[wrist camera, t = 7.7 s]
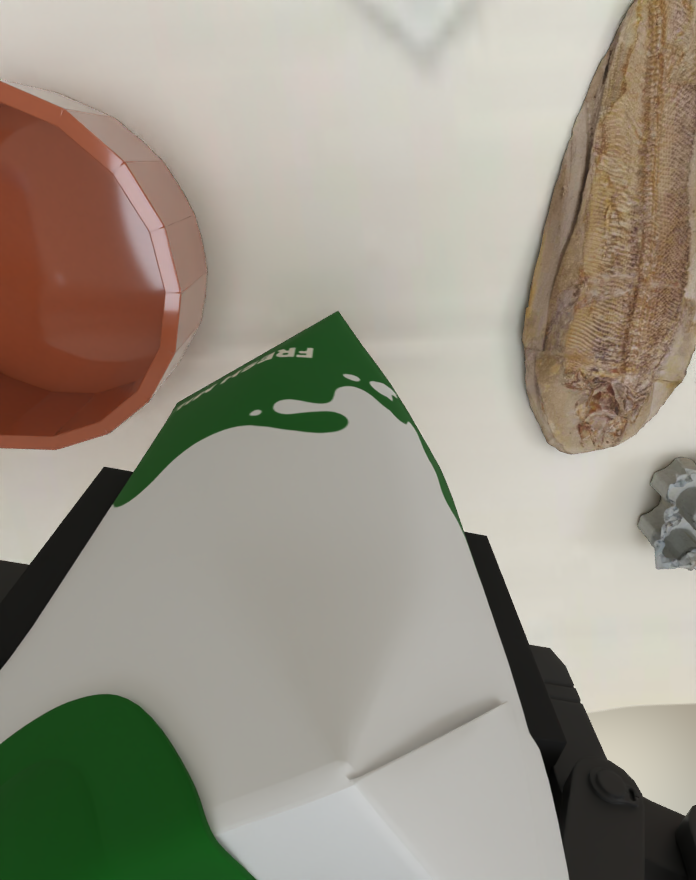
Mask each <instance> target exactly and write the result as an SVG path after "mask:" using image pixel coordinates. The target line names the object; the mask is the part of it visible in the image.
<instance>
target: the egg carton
mask: <svg viewBox="0 0 696 880" xmlns="http://www.w3.org/2000/svg"><path fill="white" fill-rule="evenodd" d="M650 485H651V486H652V487H653V488H654V489H655V490H656V491H657V492H658V493H659V494H660V495H661V501H660V503H659V505H658V506H657V507H655V508H654V509H653V510H652V511H651V512H649V513H648V514H644V515H642V516H641V517H640V520H639V523H638V528H639V529H640V530H641V531H642V532H643V534H644V535H645V536H646V537H647V539H648V540H649V542H650V543H651V545H652V546H653V547H654V549H655V564H656V569H675V568H686V569H688V570H690V571H692V570H693V569H696V464H695V463H694V462H693V461H692V460H691V459H689V458H688V459H687V458H683V457H679V458H676V459H675V460H674V461H673V462H672V463H671V464H670V466H668V467H666V468H665V469H663V470H659V471H658V472H656V473H654V476H653V479H652V482H651V483H650Z"/></svg>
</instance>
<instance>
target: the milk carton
mask: <svg viewBox="0 0 696 880" xmlns="http://www.w3.org/2000/svg"><path fill="white" fill-rule="evenodd" d="M0 880H569V875H568V869H567V864H566V859H565V854H564V849H563V844H562V839H561V834H560V829H559V824H558V819H557V815H556V810H555V806H554V802H553V797H552V793H551V789H550V784H549V780H548V777H547V773H546V770H545V766H544V763H543V759H542V756H541V752H540V749H539V748H538V746H537V744H536V743H535V741H534V740H533V738H532V737H531V735H530V733H529V731H528V727H527V724H526V720H525V716H524V713H523V709H522V706H521V703H520V700H519V696H518V693H517V690H516V686H515V683H514V680H513V677H512V673H511V670H510V667H509V663H508V660H507V657H506V654H505V651H504V649H503V646H502V643H501V640H500V637H499V634H498V631H497V628H496V625H495V622H494V619H493V616H492V613H491V610H490V607H489V604H488V601H487V598H486V595H485V592H484V589H483V587H482V584H481V581H480V578H479V575H478V572H477V569H476V566H475V563H474V560H473V557H472V554H471V551H470V548H469V545H468V542H467V539H466V536H465V533H464V531H463V528H462V525H461V522H460V519H459V516H458V513H457V510H456V507H455V504H454V501H453V498H452V496H451V493H450V490H449V488H448V485H447V483H446V480H445V478H444V476H443V473H442V471H441V469H440V467H439V465H438V463H437V461H436V460H435V458H434V456H433V454H432V453H431V451H430V449H429V447H428V445H427V444H426V442H425V440H424V439H423V437H422V435H421V433H420V432H419V430H418V428H417V426H416V425H415V423H414V421H413V419H412V418H411V416H410V414H409V412H408V411H407V409H406V408H405V406H404V405H403V403H402V401H401V400H400V398H399V397H398V395H397V393H396V392H395V390H394V389H393V387H392V385H391V384H390V382H389V381H388V380H387V378H386V377H385V375H384V374H383V373H382V371H381V370H380V368H379V367H378V366H377V364H376V363H375V362H374V360H373V359H372V358H371V356H370V355H369V354H368V352H367V351H366V350H365V348H364V347H363V346H362V344H361V343H360V341H359V340H358V339H357V337H356V336H355V334H354V333H353V331H352V330H351V329H350V327H349V326H348V324H347V323H346V321H345V320H344V319H343V317H342V316H341V314H340V313H339V311H337V312H335V313H333V314H332V315H330V316H328V317H326V318H325V319H323V320H321V321H319V322H318V323H316V324H314V325H312V326H311V327H309V328H307V329H305V330H304V331H302V332H300V333H298V334H297V335H295V336H293V337H291V338H290V339H288V340H286V341H284V342H283V343H281V344H279V345H277V346H276V347H274V348H272V349H270V350H269V351H267V352H265V353H264V354H262V355H260V356H258V357H257V358H255V359H253V360H251V361H250V362H248V363H246V364H244V365H243V366H241V367H239V368H237V369H236V370H234V371H232V372H230V373H229V374H227V375H225V376H223V377H222V378H220V379H218V380H216V381H215V382H213V383H211V384H209V385H208V386H206V387H204V388H202V389H201V390H199V391H197V392H195V393H194V394H192V395H190V396H189V397H187V398H185V399H183V400H182V401H180V402H178V403H177V404H176V406H175V408H174V409H173V411H172V413H171V414H170V416H169V418H168V419H167V421H166V423H165V424H164V426H163V428H162V429H161V431H160V432H159V434H158V435H157V437H156V438H155V440H154V441H153V443H152V445H151V446H150V448H149V449H148V451H147V452H146V454H145V455H144V457H143V458H142V460H141V461H140V463H139V464H138V466H137V468H136V469H135V471H134V472H133V474H132V475H131V477H130V478H129V480H128V481H127V483H126V484H125V486H124V487H123V489H122V491H121V492H120V494H119V495H118V497H117V498H116V500H115V501H114V503H113V504H112V506H111V507H110V509H109V510H108V512H107V514H106V515H105V517H104V518H103V520H102V521H101V523H100V524H99V526H98V527H97V529H96V530H95V532H94V533H93V535H92V537H91V538H90V540H89V541H88V543H87V544H86V546H85V547H84V549H83V550H82V552H81V553H80V555H79V556H78V558H77V560H76V561H75V563H74V564H73V566H72V567H71V569H70V570H69V572H68V573H67V575H66V576H65V578H64V579H63V581H62V583H61V584H60V586H59V587H58V589H57V590H56V592H55V593H54V595H53V596H52V598H51V599H50V601H49V602H48V604H47V605H46V607H45V608H44V610H43V611H42V613H41V614H40V616H39V618H38V619H37V621H36V622H35V624H34V625H33V627H32V628H31V629H30V631H29V632H28V634H27V635H26V636H25V638H24V639H23V641H22V642H21V643H20V645H19V646H18V648H17V649H16V650H15V652H14V653H13V655H12V656H11V657H10V659H9V660H8V661H7V662H6V664H5V665H4V666H3V667H2V669H1V670H0Z"/></svg>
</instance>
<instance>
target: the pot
mask: <svg viewBox="0 0 696 880" xmlns="http://www.w3.org/2000/svg"><path fill="white" fill-rule="evenodd" d="M206 281H207V265H206V260H205V252H204V248H203V243H202V238H201V234H200V231H199V228H198V225H197V221H196V217H195V214H194V212H193V210H192V209H191V207H190V205H189V203H188V201H187V199H186V196H185V194H184V193H183V191H182V190H181V188H180V186H179V185H178V183H177V182H176V180H175V178H174V177H173V175H172V174H171V173H170V171H169V170H168V168H167V166H166V165H165V163H164V162H163V161H162V160H161V159H160V158H159V157H158V156H157V155H156V154H155V153H154V152H153V151H152V150H151V149H150V148H149V147H148V146H147V145H146V144H145V143H144V142H143V141H142V140H141V139H140V138H138V137H137V136H136V135H135V134H133V133H132V132H131V131H130V130H128V129H127V128H126V127H125V126H124V125H122V124H121V123H120V122H119V121H118V120H117V119H115V118H114V117H112V116H110V115H108V114H105V113H103V112H101V111H98V110H96V109H94V108H92V107H90V106H87V105H85V104H83V103H81V102H78V101H75V100H73V99H71V98H69V97H66V96H64V95H62V94H59V93H57V92H53V91H49V90H44V89H40V88H36V87H31V86H27V85H23V84H19V83H14V82H10V81H6V80H2V79H0V448H13V449H45V450H57V449H61V448H65V447H68V446H71V445H74V444H77V443H81V442H84V441H87V440H90V439H94V438H97V437H100V436H103V435H107V434H108V433H111V432H112V431H113V430H114V429H116V428H117V427H118V426H119V425H121V424H122V423H123V422H124V421H126V420H127V419H128V418H129V417H131V416H132V415H133V414H134V413H136V412H137V411H138V410H139V409H141V408H142V407H143V406H144V405H145V404H147V403H148V402H149V401H150V400H151V399H152V397H153V396H154V395H155V393H156V392H157V391H158V389H159V388H160V387H161V386H162V384H163V383H164V382H165V380H166V379H167V378H168V377H169V375H170V374H171V373H172V371H173V370H174V369H175V367H176V366H177V365H178V364H179V362H180V361H181V359H182V357H183V355H184V353H185V351H186V349H187V348H188V346H189V344H190V342H191V340H192V338H193V337H194V335H195V333H196V331H197V329H198V327H199V325H200V324H201V321H202V314H203V307H204V302H205V297H206Z"/></svg>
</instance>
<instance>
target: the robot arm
mask: <svg viewBox="0 0 696 880" xmlns="http://www.w3.org/2000/svg"><path fill="white" fill-rule="evenodd" d="M132 474H133V472H130V471H125V470H119V469H114V468H108V467H103V469H102V470H101V471H100V473H99V474H98V475H97V477H96V478H95V479H94V481H93V482H92V483H91V485H90V486H89V487H88V488H87V490H86V491H85V492H84V494H83V495H82V496H81V498H80V499H79V500H78V502H77V503H76V504H75V506H74V507H73V508H72V510H71V511H70V512H69V513H68V515H67V516H66V517H65V519H64V520H63V521H62V523H61V524H60V525H59V527H58V528H57V529H56V531H55V532H54V533H53V535H52V536H51V537H50V538H49V540H48V541H47V542H46V544H45V545H44V546H43V548H42V549H41V550H40V552H39V553H38V554H37V556H36V557H35V558H34V560H33V561H32V562H31V563H30V565H27V564H20V563H14V562H8V561H2V560H0V670H1V669H2V667H3V666H4V665H5V664H6V662H7V661H8V660H9V659H10V657H11V656H12V655H13V653H14V652H15V650H16V649H17V648H18V646H19V645H20V643H21V642H22V641H23V639H24V638H25V636H26V635H27V634H28V632H29V631H30V629H31V628H32V627H33V625H34V624H35V622H36V621H37V619H38V618H39V616H40V614H41V613H42V611H43V610H44V608H45V607H46V605H47V604H48V602H49V601H50V599H51V598H52V596H53V595H54V593H55V592H56V590H57V589H58V587H59V586H60V584H61V583H62V581H63V579H64V578H65V576H66V575H67V573H68V572H69V570H70V569H71V567H72V566H73V564H74V563H75V561H76V560H77V558H78V556H79V555H80V553H81V552H82V550H83V549H84V547H85V546H86V544H87V543H88V541H89V540H90V538H91V537H92V535H93V533H94V532H95V530H96V529H97V527H98V526H99V524H100V523H101V521H102V520H103V518H104V517H105V515H106V514H107V512H108V510H109V509H110V507H111V506H112V504H113V503H114V501H115V500H116V498H117V497H118V495H119V494H120V492H121V491H122V489H123V487H124V486H125V484H126V483H127V481H128V480H129V478H130V477H131V475H132ZM464 533H465V536H466V539H467V542H468V545H469V548H470V551H471V554H472V557H473V560H474V563H475V566H476V569H477V572H478V575H479V578H480V581H481V584H482V587H483V589H484V592H485V595H486V598H487V601H488V604H489V607H490V610H491V613H492V616H493V619H494V622H495V625H496V628H497V631H498V634H499V637H500V640H501V643H502V646H503V649H504V651H505V654H506V657H507V660H508V663H509V667H510V670H511V673H512V677H513V680H514V683H515V686H516V690H517V693H518V696H519V700H520V703H521V706H522V709H523V713H524V716H525V720H526V724H527V727H528V731H529V733H530V735H531V737H532V738H533V740H534V741H535V743H536V744H537V746H538V748H539V749H540V752H541V756H542V759H543V763H544V766H545V770H546V773H547V777H548V780H549V784H550V789H551V793H552V797H553V802H554V806H555V810H556V815H557V819H558V824H559V829H560V834H561V839H562V844H563V849H564V854H565V859H566V864H567V869H568V875H569V880H696V805H695V806H692V808H691V809H690V810H689V812H688V813H687V815H686V816H684V815H682V814H679V813H677V812H675V811H673V810H670V809H668V808H666V807H663V806H661V805H659V804H656V803H654V802H652V801H650V800H648V799H646V798H644V797H643V796H642V793H641V792H640V790H639V788H638V787H637V785H636V783H635V782H634V780H633V779H631V777H630V776H629V775H628V774H627V773H626V772H625V771H624V770H623V769H621V768H620V767H618V766H617V765H615V764H614V763H612V762H611V761H609V760H607V758H606V756H605V754H604V752H603V749H602V747H601V745H600V742H599V740H598V738H597V736H596V733H595V731H594V729H593V727H592V725H591V722H590V720H589V718H588V715H587V713H586V711H585V709H584V706H583V704H581V703H580V697H579V695H578V693H577V691H576V688H574V687H573V686H574V684H573V682H572V680H571V677H570V675H569V673H568V671H567V668H566V666H565V665H564V664H563V663H562V661H561V660H560V659H559V658H558V657H557V656H556V654H555V653H554V652H553V651H552V650H551V649H550V648H546V647H540V646H534V645H529V643H528V641H527V638H526V635H525V633H524V630H523V628H522V625H521V623H520V620H519V617H518V615H517V612H516V610H515V607H514V605H513V602H512V599H511V597H510V594H509V592H508V589H507V587H506V584H505V582H504V579H503V576H502V574H501V571H500V569H499V566H498V564H497V561H496V558H495V556H494V553H493V551H492V548H491V546H490V543H489V540H488V538H487V536H484V535H479V534H473V533H468V532H464Z"/></svg>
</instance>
